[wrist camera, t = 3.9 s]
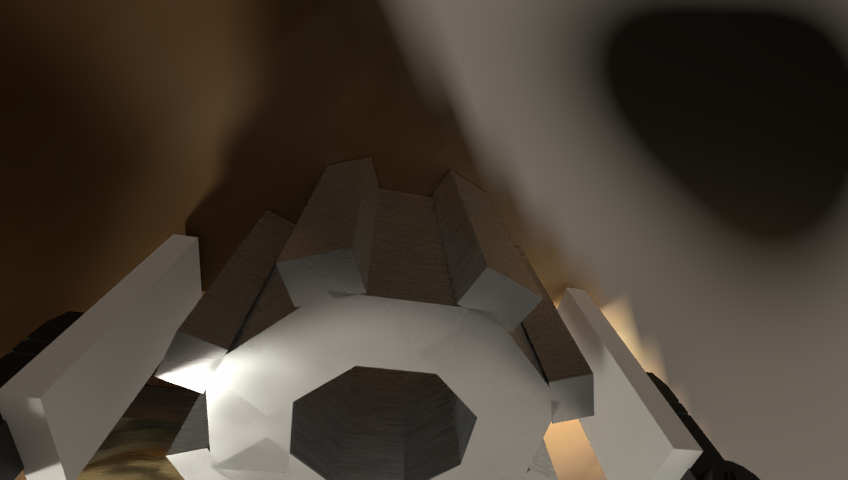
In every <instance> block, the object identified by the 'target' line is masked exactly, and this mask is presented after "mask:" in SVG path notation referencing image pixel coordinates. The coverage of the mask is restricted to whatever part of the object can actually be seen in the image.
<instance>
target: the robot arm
mask: <svg viewBox="0 0 848 480" xmlns="http://www.w3.org/2000/svg"><path fill="white" fill-rule="evenodd" d="M201 297H202V290H201V274H200V259H199V243H198V237H191V236H184V235H177V234H173V235H172V236H171V237H170V238H169V239H167V240H166V241H165V242H164V243H163V244H162V245H161V246H160V247H158V248H157V249H156V250H155V251H154V252H153V253H152V254H151V255H149V256H148V257H147V258H146V259H145V260H144V261H143V262H142V263H140V264H139V265H138V266H137V267H136V268H135V269H134V270H133V271H131V272H130V273H129V274H128V275H127V276H126V277H125V278H124V279H123V280H121V281H120V282H119V283H118V284H117V285H116V286H115V287H114V288H112V289H111V290H110V291H109V292H108V293H107V294H106V295H105V296H103V297H102V298H101V299H100V300H99V301H98V302H97V303H96V304H94V305H93V306H92V307H91V308H90V309H89V310H88V311H87V312H85V313H81V312H71V311H68V312H66V313H64V314H62V315H60V316H58V317H56V318H54V319H52V320H50V321H48V322H46V323H44V324H43V325H42V326H40V327H39V328H38V329H37V330H35V331H34V332H33V333H32V334H31V335H29V336H28V337H27V338H26V341H22V342H21V343H20V344H18V345H17V346H16V347H15V348H13V349H12V350H11V353H10V354H6V355H5V356H4V357H2V358H1V359H0V480H14V479H15V478H16V477H17V476H18V475H19V474H20V472H21V471H22V470H23V471H24V474H25V476H26V479H27V480H76V479H77V477H78V476H79V475H80V473H81V472H82V470H83V469H84V468H85V466H86V465H87V464H88V462H89V461H90V459H91V458H92V457H93V455H94V454H95V452H96V451H97V450H98V448H99V447H100V446H101V444H102V443H103V441H104V440H105V439H106V437H107V436H108V435H109V433H110V432H111V430H112V429H113V428H114V426H115V425H116V423H117V422H118V421H119V419H120V418H121V417H122V415H123V414H124V412H125V411H126V410H127V408H128V407H129V405H130V404H131V403H132V401H133V400H134V399H135V397H136V396H137V394H138V393H139V392H140V390H141V389H142V387H143V386H144V385H145V383H146V382H147V381H148V379H149V378H150V376H151V375H152V374H153V372H154V371H155V370H156V368H157V367H158V365H159V364H160V363H161V361H162V360H163V358H164V356H165V354H166V352H167V350H168V348H169V346H170V344H171V342H172V340H173V338H174V336H175V334H176V331H177V330H178V328H179V327H180V326H181V324H182V323H183V322H184V320H185V319H186V318H187V316H188V315H189V314H190V312H191V311H192V310H193V308H194V307H195V305H196V304H197V303H198V301H199V300H200V299H201ZM557 311H558V313H559V315H560V316H561V318H562V320H563V321H564V323H565V325H566V327H567V328H568V330H569V332H570V334H571V335H572V337H573V339H574V341H575V342H576V344H577V346H578V347H579V349H580V351H581V353H582V354H583V356H584V358H585V360H586V361H587V363H588V365H589V366H590V368H591V370H592V372H593V373H594V416H589V417H584V418H579V421H580V423H581V425H582V427H583V429H584V432H585V434H586V436H587V438H588V440H589V442H590V444H591V446H592V449H593V451H594V453H595V455H596V457H597V459H598V461H599V463H600V466H601V468H602V470H603V472H604V474H605V476H606V478H607V480H760V479H759V478H758V477H757V476H756V475H754V474H753V473H751V472H750V471H749V470H747V469H746V468H744V467H743V466H740V465H738V464H736V463H734V462H731V461H726V460H724V459H723V458H722V456H721V455H720V454H719V452H718V451H717V450H716V448H715V447H714V446H713V445H712V443H711V442H710V441H709V439H708V438H707V437H706V435H705V434H704V433H703V431H702V430H701V429H700V428H699V426H698V425H697V424H696V422H695V421H694V420H693V418H692V417H691V416H689V415H688V412H687V411H686V409H685V408H684V407H683V405H682V404H681V403H679V400H678V399H677V398H676V396H675V395H674V394H673V392H672V391H671V390H670V388H669V387H668V386H667V385H666V384H665V383H663V382H662V381H661V380H660V379H659V378H658V377H656V376H655V375H654V374H653V373H649V372H645V371H644V369H643V368H642V367H641V365H640V364H639V363H638V361H637V360H636V358H635V357H634V356H633V354H632V353H631V352H630V350H629V349H628V348H627V346H626V345H625V343H624V342H623V341H622V339H621V338H620V337H619V335H618V334H617V333H616V331H615V330H614V328H613V327H612V326H611V324H610V323H609V322H608V320H607V319H606V318H605V316H604V315H603V313H602V312H601V311H600V309H599V308H598V307H597V305H596V304H595V303H594V301H593V300H592V298H591V297H590V296H589V294H588V293H587V292H586V290H582V289H575V288H568V287H566V289H565V292H564V294H563V297H562V299H561V301H560V304H559V306H558V309H557Z"/></svg>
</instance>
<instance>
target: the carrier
mask: <svg viewBox="0 0 848 480" xmlns="http://www.w3.org/2000/svg"><path fill="white" fill-rule="evenodd" d="M199 395H200V393H199V392H197V391H194V390H189V389H177V388H166V387H154V386H143V387H142V389H141V390H140V392H139V393H138V394H137V396H136V397H135V399H134V400H133V401H132V403H131V404H130V405H129V407H128V408H127V410H126V411H125V412H124V414H123V415H122V417H121V418H120V419H119V421H118V422H117V423H116V425H115V426H114V428H113V429H112V430H111V432H110V433H109V435H108V436H107V437H106V439H105V440H104V441H103V443H102V444H101V446H100V447H99V448H98V450H97V451H96V452H95V454H94V455H93V457H92V458H91V459H90V461H89V462H88V464H87V465H86V466H85V468H84V469H83V470H82V472H81V473H80V475H79V476H78V477H77V479H76V480H185V479H184V478H183V477H182V476H181V474H180V473H179V472H178V471H177V469H176V468H175V467H174V466H173V464H172V463H171V462H170V461H169V459H168V458H167V457H166V455H167V453H168V451H169V449H170V448H171V446H172V444H173V442H174V440H175V438H176V437H177V435H178V433H179V431H180V429H181V428H182V426H183V424H184V422H185V420H186V418H187V417H188V415H189V413H190V411H191V409H192V407H193V406H194V404H195V402H196V400H197V398H198V397H199Z"/></svg>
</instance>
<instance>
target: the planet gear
mask: <svg viewBox="0 0 848 480" xmlns="http://www.w3.org/2000/svg"><path fill="white" fill-rule="evenodd" d="M294 226H295V224H294V223H292V222H290V221H289V220H287V219H285V218H283V217H281V216H279V215H277V214H275V213H273V212H271V211H269V210H266V211H265V213H264V214H263V215H262V217H261V218H260V220H259V221H258V222H257V224H256V225H255V226H254V228H253V229H252V230H251V232H250V233H249V234H248V236H247V237H246V238H245V240H244V241H243V242H242V244H241V245H240V246H239V248H238V249H237V250H236V252H235V253H234V254H233V256H232V257H231V258H230V260H229V261H228V263H227V264H226V265H225V267H224V268H223V269H222V271H221V272H220V273H219V275H218V276H217V277H216V279H215V280H214V281H213V283H212V284H211V285H210V287H209V288H208V289H207V291H206V292H205V293H204V295H203V296H202V297H201V299H200V300H199V301H198V303H197V304H196V305H195V307H194V308H193V310H192V311H191V312H190V314H189V315H188V316H187V318H186V319H185V320H184V322H183V323H182V324H181V326H180V327H179V328H178V330H177V331H176V334H175V336H174V338H173V340H172V342H171V344H170V346H169V348H168V350H167V352H166V354H165V356H164V358H163V360H162V362H161V364H160V366H159V368H158V370H157V372H156V374H155V376H154V377H157V378H160V379H163V380H166V381H168V382H171V383H174V384H177V385H180V386H183V387H185V388H188V389H191V390H194V391H197V392H199V393H200V395H199V397H198V398H197V400H196V402H195V404H194V406H193V407H192V409H191V411H190V413H189V415H188V417H187V418H186V420H185V422H184V424H183V426H182V428H181V429H180V431H179V433H178V435H177V437H176V438H175V440H174V442H173V444H172V446H171V448H170V449H169V451H168V453H167V455H166V457H167V458H168V459H169V461H170V462H171V463H172V464H173V466H174V467H175V468H176V469H177V471H178V472H179V473H180V474H181V476H182V477H183V478H184V479H185V480H558V478H557V476H556V473H555V470H554V467H553V465H552V462H551V459H550V456H549V453H548V451H547V448H546V445H545V442H544V440H543V437H544V435H545V433H546V431H547V429H548V426H549V424H550V422H551V421H552V423H557V422H563V421H568V420H573V419H579V418H584V417H589V416H594V373H593V372H592V370H591V368H590V366H589V365H588V363H587V361H586V360H585V358H584V356H583V354H582V353H581V351H580V349H579V347H578V346H577V344H576V342H575V341H574V339H573V337H572V335H571V334H570V332H569V330H568V328H567V327H566V325H565V323H564V321H563V320H562V318H561V316H560V315H559V313H558V311H557V309H556V308H555V306H554V304H553V302H552V301H551V299H550V297H549V295H548V294H547V292H546V290H545V289H544V287H543V285H542V283H541V282H540V280H539V278H538V276H537V275H536V273H535V271H534V269H533V268H532V266H531V264H530V263H529V261H528V259H527V257H526V256H525V254H524V252H523V250H522V249H521V247H517V248H516V247H515V245H514V244H513V242H512V240H511V238H510V236H509V235H508V233H507V231H506V229H505V227H504V225H503V224H502V222H501V220H500V218H499V216H498V215H497V213H496V211H495V209H494V207H493V206H492V204H491V202H490V200H489V198H488V197H487V195H486V193H485V192H484V191H483V190H481V189H480V188H478V187H477V186H475V185H473V184H472V183H470V182H469V181H467V180H466V179H464V178H462V177H461V176H459V175H458V174H456V173H455V172H453V171H451V170H450V171H449V172H448V174H447V175H446V177H445V178H444V179H443V181H442V182H441V184H440V185H439V187H438V188H437V189H436V191H435V192H434V194H433V197H432V196H426V195H420V194H414V193H407V192H401V191H395V190H389V189H383V188H379V184H378V180H377V176H376V173H375V169H374V165H373V162H372V158H371V156H370V157H365V158H361V159H356V160H351V161H347V162H342V163H338V164H333V165H329V166H327V167H326V169H325V171H324V173H323V175H322V177H321V179H320V181H319V182H318V184H317V186H316V188H315V190H314V192H313V194H312V196H311V198H310V199H309V201H308V203H307V205H306V207H305V209H304V211H303V213H302V214H301V216H300V218H299V220H298V222H297V224H296V226H295V227H294Z"/></svg>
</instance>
